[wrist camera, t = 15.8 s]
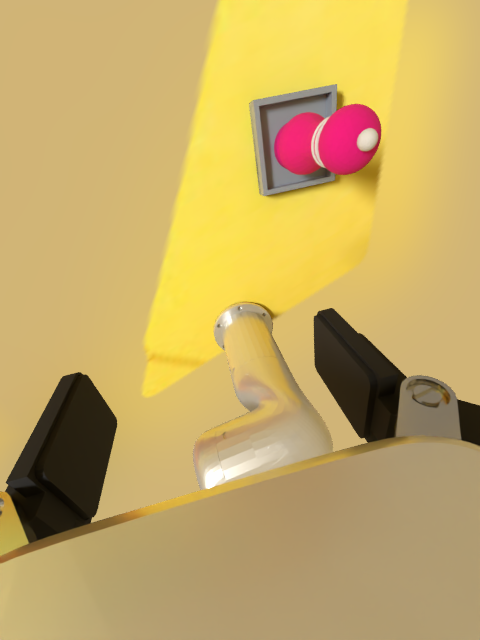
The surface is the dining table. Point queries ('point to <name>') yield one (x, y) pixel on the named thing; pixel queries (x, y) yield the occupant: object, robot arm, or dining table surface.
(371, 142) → the pepper mill
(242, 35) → the dining table surface
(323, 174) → the tray
